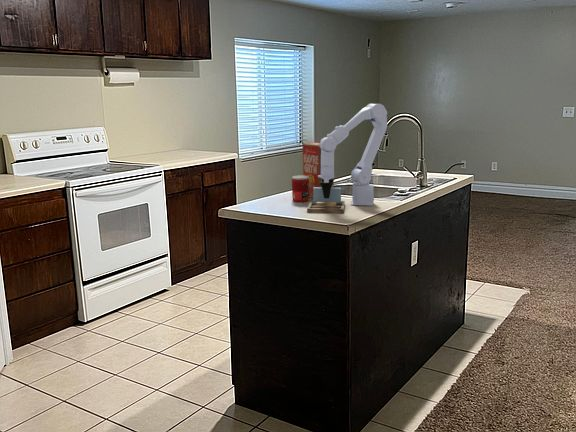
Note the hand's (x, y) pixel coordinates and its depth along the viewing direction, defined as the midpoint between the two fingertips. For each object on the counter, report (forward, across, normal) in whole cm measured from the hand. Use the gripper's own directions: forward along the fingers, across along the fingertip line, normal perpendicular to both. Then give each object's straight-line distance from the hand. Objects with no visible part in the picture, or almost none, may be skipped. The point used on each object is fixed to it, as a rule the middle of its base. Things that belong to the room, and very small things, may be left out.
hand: (327, 196), depth 249 cm
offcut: (+4, +6, 0) cm, 8 cm away
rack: (+4, +6, 0) cm, 7 cm away
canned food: (+4, -11, -12) cm, 17 cm away
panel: (+4, 0, 0) cm, 4 cm away
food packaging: (+4, -23, -5) cm, 24 cm away
